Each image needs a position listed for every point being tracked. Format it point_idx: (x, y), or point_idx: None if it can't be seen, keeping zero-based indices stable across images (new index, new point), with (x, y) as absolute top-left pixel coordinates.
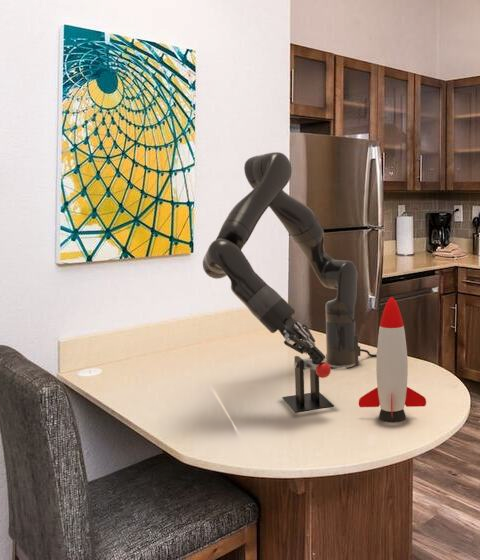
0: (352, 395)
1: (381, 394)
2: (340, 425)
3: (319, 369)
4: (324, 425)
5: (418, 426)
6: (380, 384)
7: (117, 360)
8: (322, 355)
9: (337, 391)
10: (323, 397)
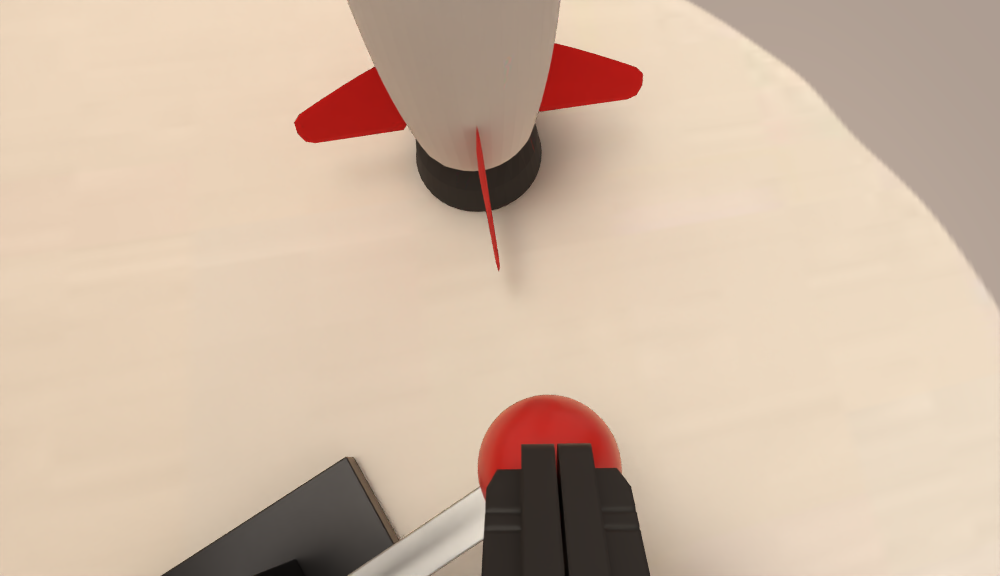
0: (117, 404)
1: (529, 111)
2: (561, 376)
3: None
4: None
5: None
6: (531, 78)
7: None
8: (574, 465)
9: (40, 508)
10: (211, 555)
